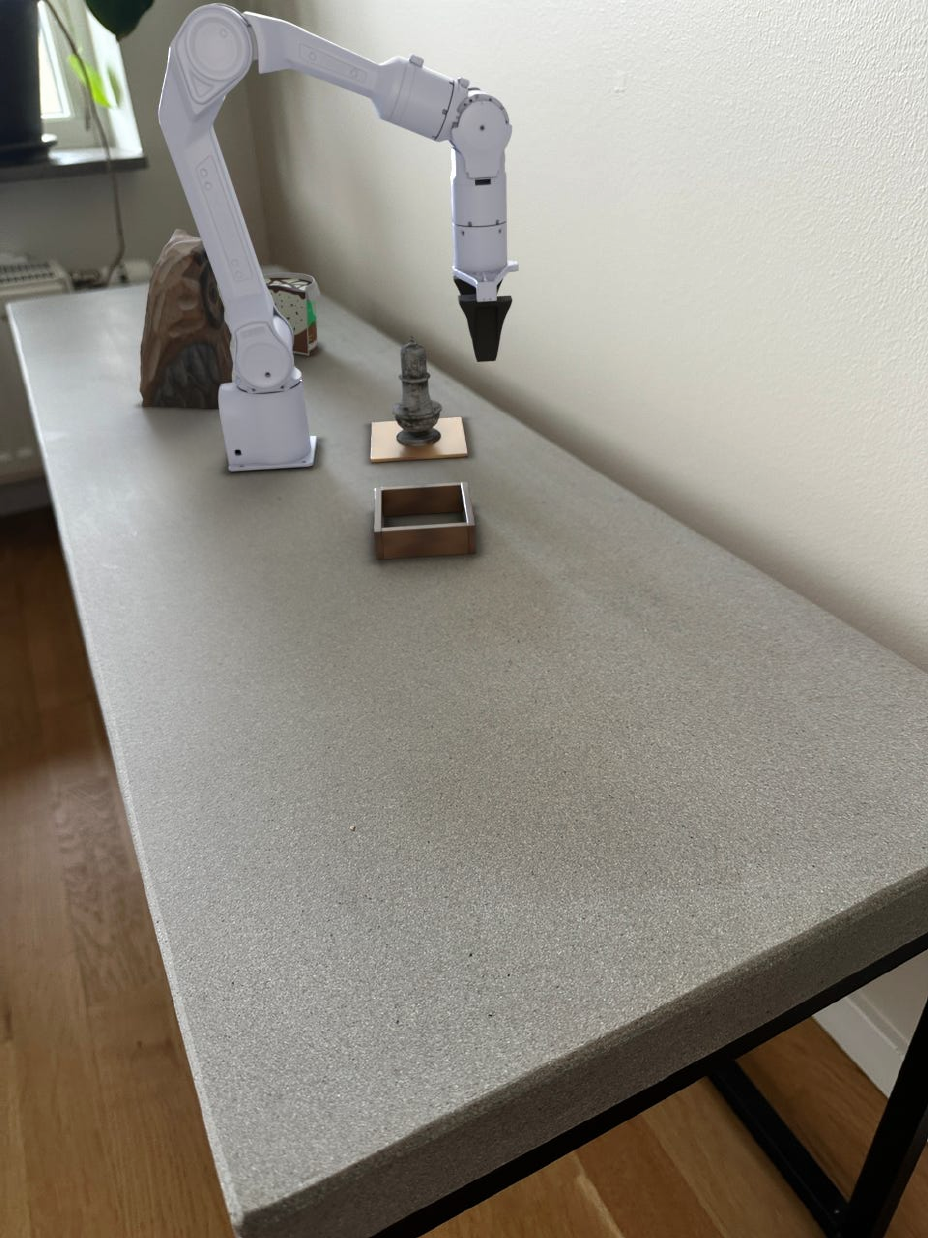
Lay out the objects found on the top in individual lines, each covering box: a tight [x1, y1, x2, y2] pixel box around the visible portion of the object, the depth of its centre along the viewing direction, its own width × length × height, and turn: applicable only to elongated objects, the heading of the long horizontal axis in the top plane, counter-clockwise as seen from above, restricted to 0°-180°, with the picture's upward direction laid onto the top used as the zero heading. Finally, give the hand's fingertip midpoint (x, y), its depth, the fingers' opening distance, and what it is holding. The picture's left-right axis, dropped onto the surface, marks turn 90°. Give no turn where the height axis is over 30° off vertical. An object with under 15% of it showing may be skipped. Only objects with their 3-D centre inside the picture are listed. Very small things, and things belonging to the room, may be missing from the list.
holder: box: [373, 481, 477, 561], centre depth 94 cm, size 9×9×3 cm
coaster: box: [370, 416, 469, 463], centre depth 113 cm, size 11×11×1 cm
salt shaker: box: [391, 335, 443, 446], centre depth 110 cm, size 6×6×12 cm
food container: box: [262, 272, 321, 357], centre depth 143 cm, size 12×6×10 cm, turn 58°
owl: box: [139, 228, 234, 410], centre depth 124 cm, size 13×13×20 cm
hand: (483, 349), depth 108 cm, fingers open, 7 cm apart
